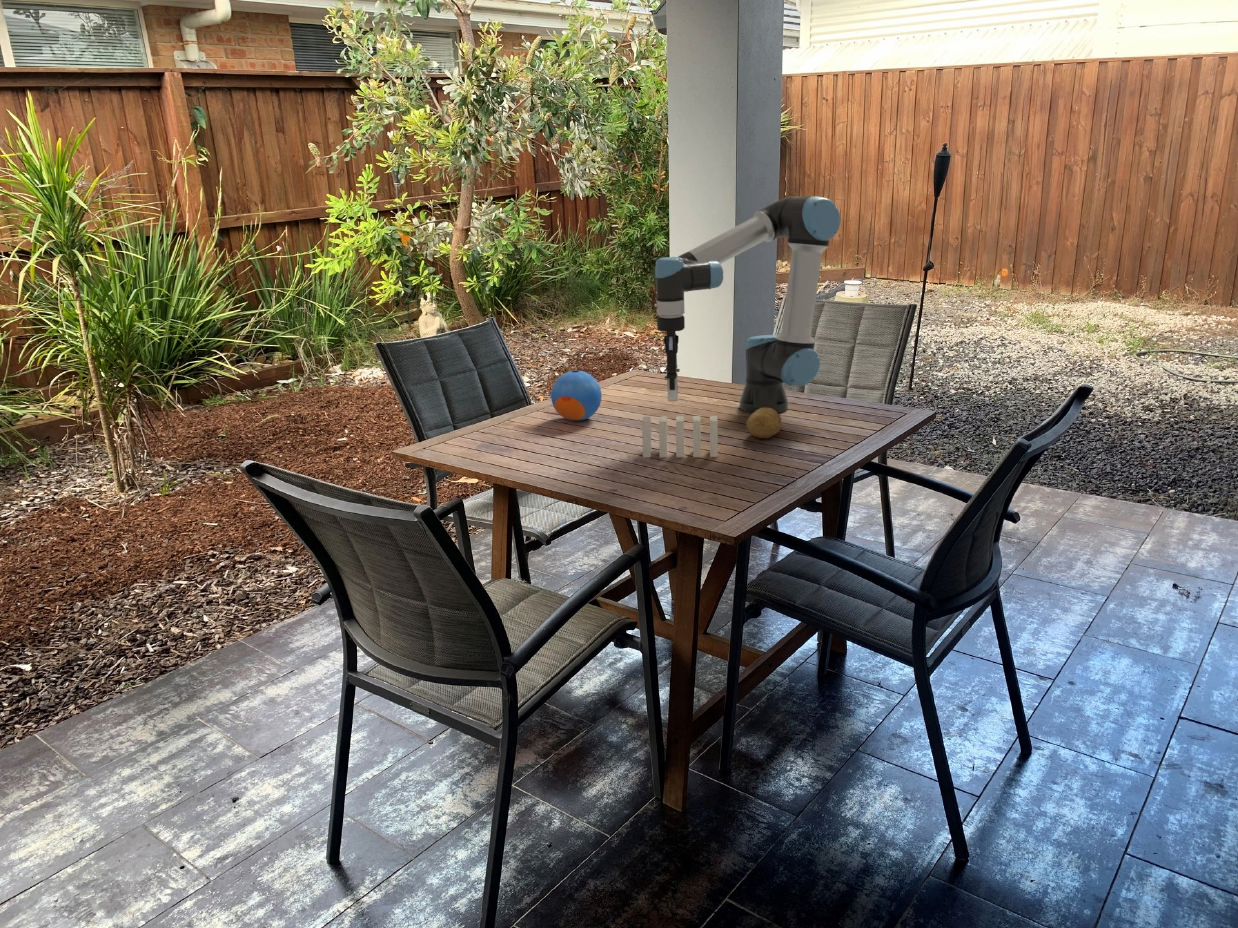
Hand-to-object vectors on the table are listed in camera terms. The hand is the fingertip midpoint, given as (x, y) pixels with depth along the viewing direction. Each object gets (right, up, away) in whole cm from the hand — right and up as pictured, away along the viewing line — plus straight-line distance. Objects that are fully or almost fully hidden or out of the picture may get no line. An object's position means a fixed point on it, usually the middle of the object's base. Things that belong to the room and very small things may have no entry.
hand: (672, 397), depth 256 cm
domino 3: (+1, -16, -10) cm, 19 cm away
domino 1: (-8, -16, -9) cm, 20 cm away
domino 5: (+10, -16, -11) cm, 22 cm away
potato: (+26, -11, +3) cm, 29 cm away
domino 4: (+6, -16, -10) cm, 20 cm away
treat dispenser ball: (-28, -5, +26) cm, 39 cm away
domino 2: (-3, -16, -9) cm, 19 cm away
